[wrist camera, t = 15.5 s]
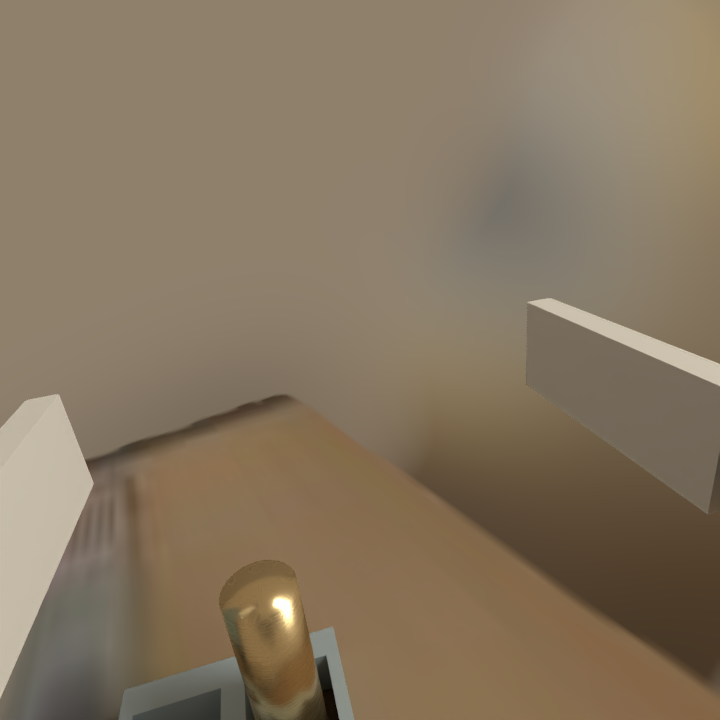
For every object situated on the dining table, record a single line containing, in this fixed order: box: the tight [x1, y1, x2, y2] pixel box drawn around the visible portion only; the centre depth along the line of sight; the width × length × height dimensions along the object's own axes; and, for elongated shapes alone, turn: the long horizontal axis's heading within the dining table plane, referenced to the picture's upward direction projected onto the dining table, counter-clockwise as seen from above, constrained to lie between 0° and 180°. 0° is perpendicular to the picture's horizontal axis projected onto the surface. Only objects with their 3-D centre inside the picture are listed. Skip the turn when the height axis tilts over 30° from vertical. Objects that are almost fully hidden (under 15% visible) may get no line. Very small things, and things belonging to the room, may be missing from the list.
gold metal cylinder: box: [219, 560, 328, 720], centre depth 31 cm, size 4×4×14 cm
